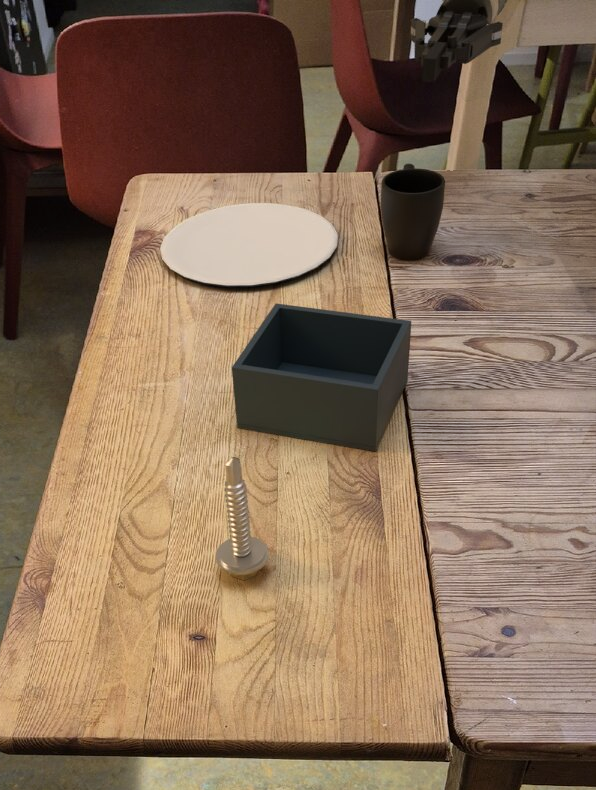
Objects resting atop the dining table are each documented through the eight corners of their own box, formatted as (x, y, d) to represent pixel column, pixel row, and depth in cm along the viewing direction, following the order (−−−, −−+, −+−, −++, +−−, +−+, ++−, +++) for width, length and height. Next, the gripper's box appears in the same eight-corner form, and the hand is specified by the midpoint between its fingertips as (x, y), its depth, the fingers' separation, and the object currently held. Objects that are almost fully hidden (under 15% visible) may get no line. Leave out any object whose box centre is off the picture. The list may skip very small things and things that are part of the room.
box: (278, 362, 110) (275, 303, 104) (407, 381, 105) (411, 320, 100) (237, 428, 101) (231, 367, 96) (375, 451, 97) (378, 389, 91)
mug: (436, 224, 132) (442, 155, 125) (441, 264, 124) (447, 193, 117) (378, 226, 133) (380, 157, 126) (379, 265, 124) (381, 194, 118)
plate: (329, 204, 139) (329, 195, 138) (347, 285, 121) (347, 276, 120) (163, 216, 139) (162, 208, 138) (157, 299, 122) (156, 290, 121)
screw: (217, 590, 84) (218, 553, 87) (270, 587, 84) (269, 551, 87) (202, 477, 75) (204, 441, 78) (262, 474, 74) (261, 438, 78)
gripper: (509, 46, 134) (476, 105, 119) (420, 42, 137) (378, 98, 122) (516, -14, 128) (483, 39, 113) (423, -17, 132) (380, 34, 117)
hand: (428, 70), depth 118 cm, fingers closed
